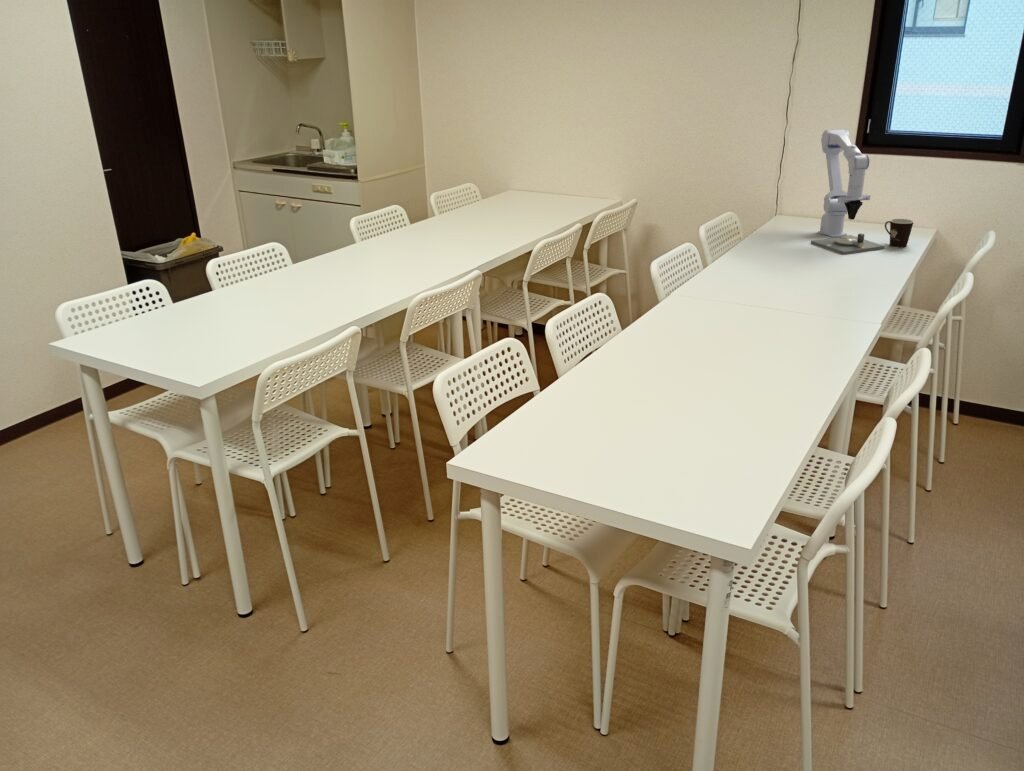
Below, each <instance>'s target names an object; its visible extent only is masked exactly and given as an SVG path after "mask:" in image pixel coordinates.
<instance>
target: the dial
mask: <svg viewBox="0 0 1024 771" xmlns="http://www.w3.org/2000/svg"><path fill="white" fill-rule="evenodd" d="M849 235H850V234H849ZM849 235H848V234H847V235H842V236H835V241H834V243H835V244H837V245H842V246H863V243H864V239H865V233H858V234H857V236H855V235H852V236H849Z"/></svg>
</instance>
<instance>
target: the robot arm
mask: <svg viewBox="0 0 1024 771" xmlns="http://www.w3.org/2000/svg"><path fill="white" fill-rule="evenodd" d="M820 138H821V141H820V142H821V148H822V150H821V151H822V153H824V154H825V158H826V159H825V161H826V167H827V168H826V169H827V176H828V185H829V186H828V187H829V192H827V194H826V195H825V196H824V198H823V211H824V213H823V214H822V215H821V219H820V228H819V230H818V231H817V232H818V233H819V234H822V235H825V236H829V237H830V238H833V237H836V236H842V235H848V234H847V232H844V228H845V226H844V225H845V218H846V215H847V216H848V217H847V218H848V220H850V221H852V220H855V218H856V216H857V214H858V211H859V210H860V208H861V206H863V201H870V200H871V195H870V194H863V191H864V183H865V176H866V170H868V168H869V167H870V157H869V155H868V154H863V153H862V152H861V150H860V149H859V148H858V146H857V145H856V144H852V142H851V140H850V132H849V130H848V129H847V128H845V129H829V130H828V129H825V130H824V131H823V132H822V135H821V137H820ZM842 152H843V153H842ZM840 153H842V154H843V156H844V158H845V159H846V161H847V167H848V175H849V177H848V182H847V183H848V185H847V191H845V190H844V189H843V183H842V181H843V180H842V175H841V166H840V165H841V164H840V156H839V155H840Z"/></svg>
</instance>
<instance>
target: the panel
mask: <svg viewBox="0 0 1024 771" xmlns="http://www.w3.org/2000/svg"><path fill="white" fill-rule="evenodd" d="M849 236H853V235H851V234H849ZM835 237H836V236H835ZM835 237H827V238H820V239H819V238H818V239H813V240H810V244H811V245H814V246H817V247H820V248H823V249H826V250H829V251H831V252H834V253H837V254H840V255H842V256H844V255H851V254H859V253H864V252H865V253H866V252H871V251H873V252H874V251H879V250H884V249H885V245H884V244H883V245H882V244H880V243H876V242H873V241H870V240H869V239H868V240H867V239H865V238H864V243H863V246H842V245H837V244H835V243H834V241H835Z"/></svg>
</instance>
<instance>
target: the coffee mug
mask: <svg viewBox="0 0 1024 771" xmlns="http://www.w3.org/2000/svg"><path fill="white" fill-rule="evenodd" d="M888 223H889V226H890V227H889V229H888V227H887V225H888ZM914 223H915V221H914V220H911V219H907V218H892V219H890V220H889V221H886V222H885V223H884V229H885V231H886V232H887V234H888V235H889V246H890V247H893V248H906V247H907V246H908V243H909V239H910V236H911V231H912V230H913V229H912V228H913V225H914Z"/></svg>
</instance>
